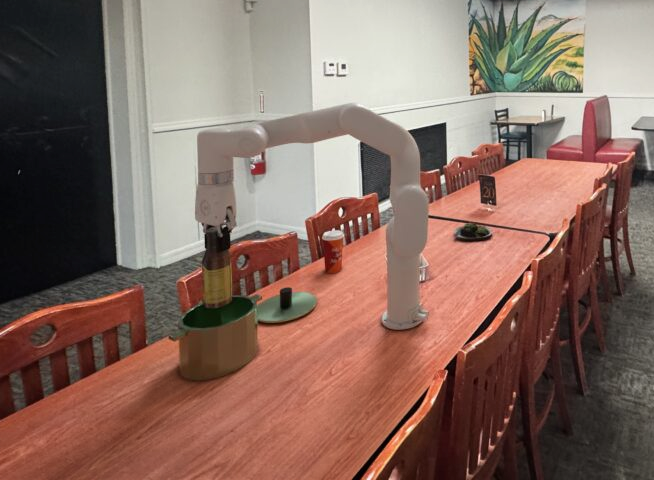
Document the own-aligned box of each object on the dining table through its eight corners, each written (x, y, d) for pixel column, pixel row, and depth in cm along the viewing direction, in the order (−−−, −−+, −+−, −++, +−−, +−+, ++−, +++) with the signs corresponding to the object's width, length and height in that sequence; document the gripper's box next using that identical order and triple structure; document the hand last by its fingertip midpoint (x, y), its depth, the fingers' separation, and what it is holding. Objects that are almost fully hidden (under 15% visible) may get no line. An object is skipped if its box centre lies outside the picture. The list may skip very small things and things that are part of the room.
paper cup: (336, 275, 163) (336, 237, 162) (317, 273, 164) (317, 235, 164) (348, 266, 171) (348, 230, 170) (330, 264, 172) (330, 228, 171)
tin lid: (329, 302, 144) (328, 283, 143) (280, 330, 128) (279, 309, 127) (291, 290, 151) (290, 272, 151) (240, 316, 135) (239, 296, 135)
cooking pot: (280, 344, 121) (279, 299, 121) (193, 396, 102) (192, 342, 101) (240, 328, 128) (240, 286, 128) (152, 374, 109) (151, 324, 108)
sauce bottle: (212, 298, 118) (210, 223, 116) (237, 297, 118) (235, 223, 117) (197, 311, 111) (195, 232, 110) (223, 310, 112) (221, 232, 110)
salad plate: (450, 228, 214) (450, 218, 214) (487, 225, 218) (487, 216, 218) (453, 242, 196) (454, 232, 195) (494, 240, 200) (494, 229, 199)
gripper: (180, 177, 113) (182, 248, 114) (221, 184, 106) (223, 260, 107) (211, 171, 120) (212, 238, 121) (252, 178, 113) (253, 249, 113)
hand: (217, 248), depth 114 cm, fingers closed on sauce bottle, 4 cm apart
